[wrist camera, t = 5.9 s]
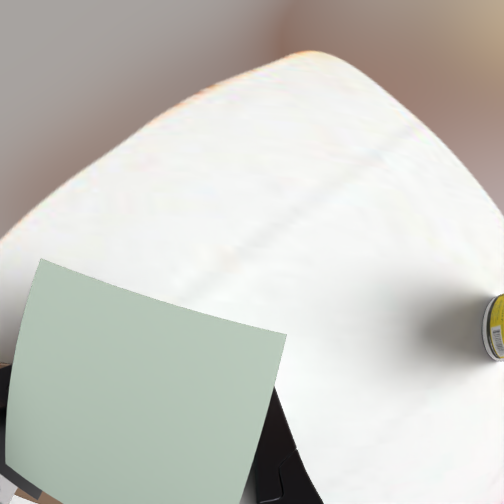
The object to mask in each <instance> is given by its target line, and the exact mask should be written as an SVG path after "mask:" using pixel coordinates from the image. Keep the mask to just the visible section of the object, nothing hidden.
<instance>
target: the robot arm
mask: <svg viewBox="0 0 504 504" xmlns="http://www.w3.org/2000/svg"><path fill="white" fill-rule="evenodd" d="M12 366H13V364H10V365H8V366H5V367H2V368H0V504H9V503H10V501H11V499H12V497H13V495H14V493H15V492H16V490H17V488H20V489H21V490H23V491H24V492H25V493H27V494H28V495H30V496H31V497H33V498H34V499H36V500H38V499H39V497H40V495H41V493H42V490H41V489H39V488H38V487H36V486H35V485H33V484H32V483H31V482H29V481H28V480H26V479H25V478H24V477H22V476H21V475H20V474H18V473H17V472H16V471H14V470H13V469H12V468H11V467H9V466H8V465H7V464H6V462H5V438H6V417H7V404H8V394H9V386H10V379H11V372H12ZM296 448H297V447H296V444H295V442H294V439H293V436H292V434H291V431H290V428H289V425H288V423H287V420H286V417H285V414H284V412H283V409H282V406H281V403H280V401H279V398H278V395H277V392H276V389H275V387H274V388H273V392H272V395H271V399H270V403H269V406H268V410H267V414H266V417H265V421H264V424H263V428H262V431H261V435H260V438H259V442H258V445H257V449H256V452H255V455H254V459H253V462H252V465H251V468H250V472H249V475H248V478H247V481H246V484H245V487H244V490H243V493H242V497H241V500H240V503H239V504H324V503H323V501H322V499H321V498H320V496H319V494H318V492H317V491H316V489H315V487H314V485H313V483H312V482H311V480H310V478H309V476H308V474H307V472H306V470H305V467H304V465H303V462H302V460H301V458H300V455H299V452H298V450H297V449H296Z"/></svg>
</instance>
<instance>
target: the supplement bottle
mask: <svg viewBox="0 0 504 504" xmlns="http://www.w3.org/2000/svg"><path fill="white" fill-rule="evenodd" d="M482 331H483V340H484V345H485V348H486V350H487V352H488V354H489V355H490V356H491V357H492V358H493V359H494V360H496V361H504V294H502V295H499V296H497V297H495V298H494V299H492V300H491V302H490V303H489V304H488V306H487V308H486V311H485V314H484V319H483V330H482Z"/></svg>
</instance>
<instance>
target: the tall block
mask: <svg viewBox="0 0 504 504" xmlns="http://www.w3.org/2000/svg"><path fill="white" fill-rule="evenodd" d="M286 335H287V334H282V333H278V332H274V331H269V330H265V329H261V328H257V327H253V326H249V325H245V324H241V323H237V322H233V321H229V320H226V319H222V318H218V317H214V316H211V315H207V314H204V313H200V312H197V311H193V310H190V309H186V308H183V307H179V306H176V305H173V304H169V303H166V302H163V301H160V300H156V299H153V298H150V297H147V296H144V295H141V294H138V293H134V292H131V291H128V290H125V289H122V288H119V287H117V286H114V285H111V284H108V283H105V282H102V281H99V280H97V279H94V278H91V277H88V276H85V275H83V274H80V273H77V272H75V271H72V270H69V269H67V268H64V267H62V266H59V265H56V264H54V263H51V262H49V261H46V260H44V259H40V262H39V265H38V268H37V271H36V274H35V277H34V280H33V283H32V286H31V289H30V293H29V296H28V300H27V303H26V307H25V310H24V314H23V318H22V322H21V326H20V330H19V335H18V339H17V344H16V349H15V354H14V360H13V366H12V372H11V379H10V386H9V394H8V404H7V417H6V438H5V462H6V464H7V465H8V466H9V467H11V468H12V469H13V470H14V471H16V472H17V473H18V474H20V475H21V476H22V477H24V478H25V479H26V480H28V481H29V482H31V483H32V484H33V485H35V486H36V487H38V488H39V489H41V490H42V491H44V492H45V493H47V494H49V495H50V496H52V497H53V498H55V499H57V500H58V501H60V502H62V503H63V504H239V503H240V500H241V497H242V493H243V490H244V487H245V484H246V481H247V478H248V475H249V472H250V468H251V465H252V462H253V459H254V455H255V452H256V449H257V445H258V442H259V438H260V435H261V431H262V428H263V424H264V421H265V417H266V414H267V410H268V406H269V403H270V399H271V395H272V392H273V388H274V384H275V380H276V376H277V372H278V368H279V364H280V360H281V356H282V352H283V348H284V344H285V340H286Z"/></svg>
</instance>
